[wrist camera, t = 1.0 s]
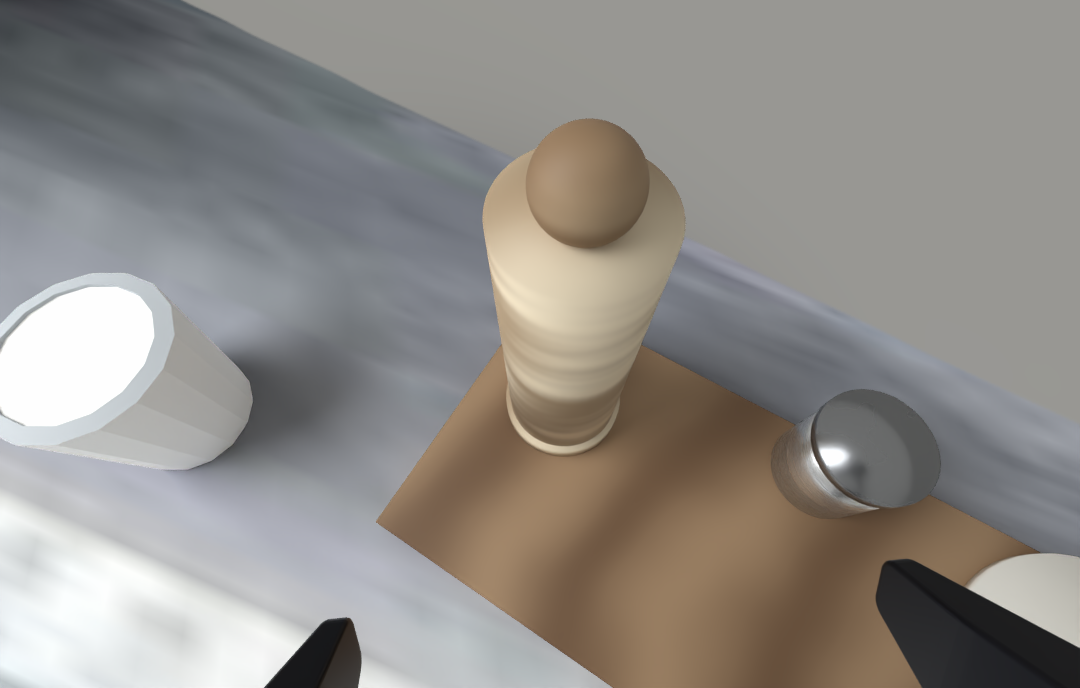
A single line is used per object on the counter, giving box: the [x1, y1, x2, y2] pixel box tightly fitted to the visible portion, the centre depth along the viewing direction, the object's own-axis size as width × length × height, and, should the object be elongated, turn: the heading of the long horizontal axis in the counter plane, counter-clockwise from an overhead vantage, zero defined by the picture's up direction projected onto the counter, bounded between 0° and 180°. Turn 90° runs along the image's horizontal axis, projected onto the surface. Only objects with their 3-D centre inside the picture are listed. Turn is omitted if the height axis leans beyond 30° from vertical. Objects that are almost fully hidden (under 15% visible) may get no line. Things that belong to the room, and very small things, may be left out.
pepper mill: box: [483, 119, 685, 457], centre depth 16 cm, size 5×5×15 cm
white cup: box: [0, 273, 253, 470], centre depth 21 cm, size 7×7×7 cm
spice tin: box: [770, 389, 941, 519], centre depth 20 cm, size 4×4×4 cm
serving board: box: [376, 344, 1042, 688], centre depth 20 cm, size 34×13×1 cm, turn 59°
